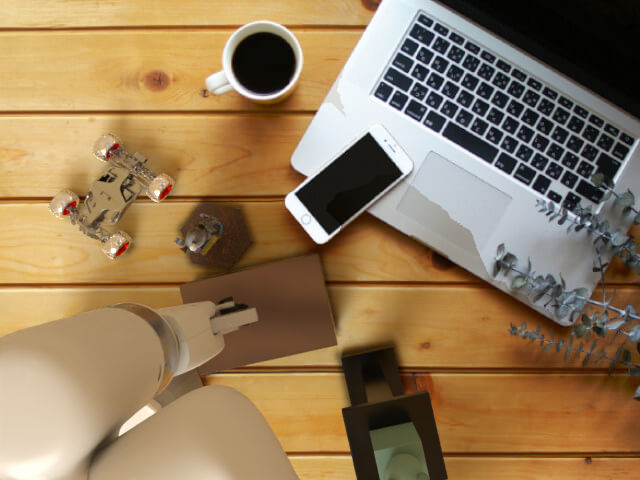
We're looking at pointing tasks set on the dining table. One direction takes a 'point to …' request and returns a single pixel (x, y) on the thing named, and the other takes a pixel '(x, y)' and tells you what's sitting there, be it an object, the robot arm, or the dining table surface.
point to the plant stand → (385, 411)
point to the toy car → (112, 195)
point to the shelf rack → (270, 311)
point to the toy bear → (399, 453)
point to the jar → (166, 397)
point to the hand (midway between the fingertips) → (187, 321)
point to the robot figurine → (215, 236)
